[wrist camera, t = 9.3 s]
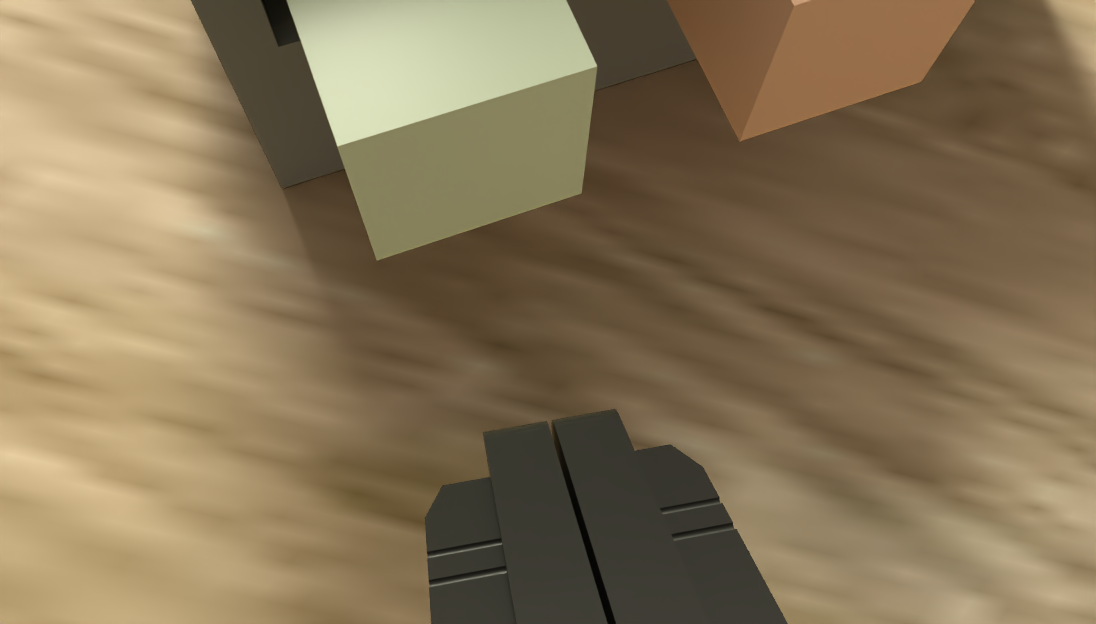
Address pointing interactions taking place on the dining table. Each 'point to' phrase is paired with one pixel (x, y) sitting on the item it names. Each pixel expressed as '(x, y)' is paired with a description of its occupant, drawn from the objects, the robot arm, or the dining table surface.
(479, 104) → the sage key
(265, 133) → the keypad console
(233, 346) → the dining table surface
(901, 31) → the terracotta key
